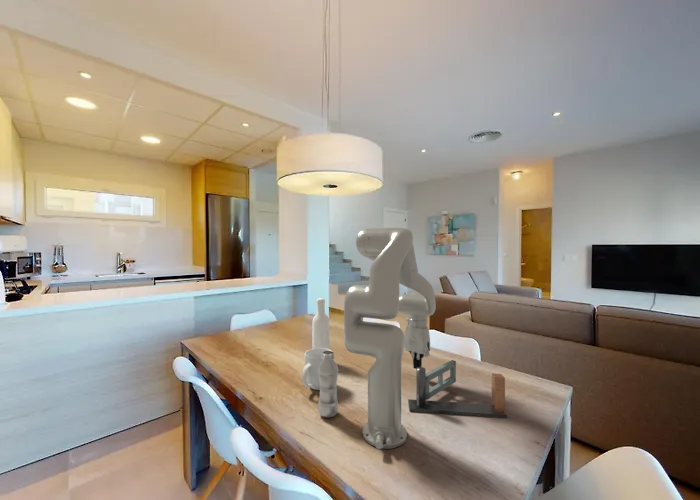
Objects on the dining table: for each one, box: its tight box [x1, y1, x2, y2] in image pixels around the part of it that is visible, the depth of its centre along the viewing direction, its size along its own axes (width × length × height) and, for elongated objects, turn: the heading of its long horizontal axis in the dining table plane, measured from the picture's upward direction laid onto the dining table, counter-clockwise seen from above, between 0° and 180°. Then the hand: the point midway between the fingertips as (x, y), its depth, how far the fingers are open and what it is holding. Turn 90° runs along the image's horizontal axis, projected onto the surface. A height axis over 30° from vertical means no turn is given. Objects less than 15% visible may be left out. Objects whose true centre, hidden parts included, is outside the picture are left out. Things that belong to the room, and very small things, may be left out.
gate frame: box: [407, 366, 508, 419], centre depth 98 cm, size 6×30×13 cm, turn 83°
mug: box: [301, 348, 332, 391], centre depth 113 cm, size 15×11×13 cm
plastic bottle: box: [317, 350, 339, 418], centre depth 95 cm, size 6×7×20 cm
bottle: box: [311, 297, 330, 349], centre depth 138 cm, size 8×8×30 cm
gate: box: [426, 359, 457, 401], centre depth 107 cm, size 20×2×8 cm, turn 133°
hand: (417, 367), depth 120 cm, fingers closed
